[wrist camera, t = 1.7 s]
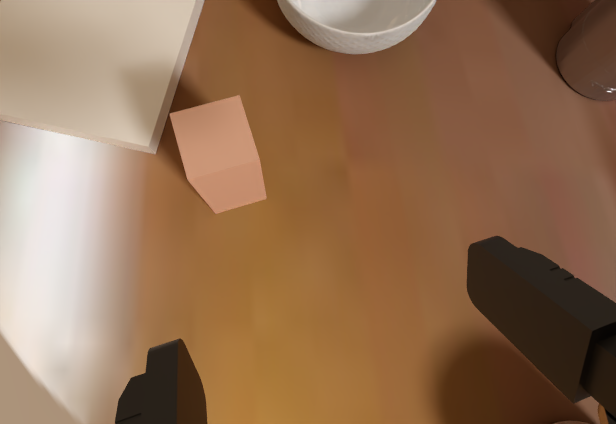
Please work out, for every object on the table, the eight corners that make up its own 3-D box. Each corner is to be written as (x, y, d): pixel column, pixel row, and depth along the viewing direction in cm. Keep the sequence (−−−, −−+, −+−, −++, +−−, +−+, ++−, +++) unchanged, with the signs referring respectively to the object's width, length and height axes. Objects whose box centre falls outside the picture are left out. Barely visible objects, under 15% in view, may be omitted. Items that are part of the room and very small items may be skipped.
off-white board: (38, -39, 41) (26, -56, 39) (204, -1, 42) (200, -16, 40) (-29, 113, 37) (-46, 103, 35) (155, 154, 38) (148, 146, 36)
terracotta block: (201, 165, 38) (169, 113, 27) (251, 151, 38) (239, 95, 28) (215, 213, 37) (187, 179, 26) (266, 198, 37) (259, 159, 27)
